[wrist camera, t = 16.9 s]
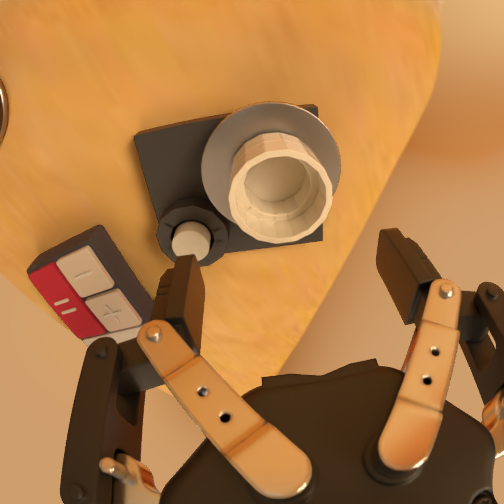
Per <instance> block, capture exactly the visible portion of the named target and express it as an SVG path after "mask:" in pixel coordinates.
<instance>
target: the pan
mask: <svg viewBox="0 0 504 504" xmlns="http://www.w3.org/2000/svg"><path fill="white" fill-rule="evenodd" d="M276 132H279V133H284V134H288V135H291V136H295V137H296V138H298V139H300V140H301V141H302V142H303V143H305V144H306V145H307V146H308V147H309V148H310V149H311V150H312V152H313V153H314V154H315V156H316V157H317V159H318V160H319V161H320V163H321V164H322V166H323V167H324V169H325V171H326V173H327V175H328V177H329V179H330V181H331V183H332V197H333V195H334V193H335V191H336V188H337V185H338V182H339V178H340V173H341V159H340V153H339V149H338V146H337V143H336V141H335V139H334V137H333V135H332V133H331V132H330V130H329V129H328V128H327V126H326V125H325V124H324V123H323V122H322V121H321V120H320V119H319V118H317V117H316V116H315V115H313V114H312V113H311V112H309V111H307V110H305V109H303V108H302V107H299V106H296V105H293V104H290V103H285V102H277V101H267V102H259V103H254V104H251V105H248V106H245V107H242V108H240V109H238V110H236V111H235V112H233V113H232V114H230V115H228V116H227V117H226V118H225V119H224V120H223V121H221V122H220V123H219V125H218V126H217V127H216V128H215V129H214V131H213V132H212V134H211V135H210V137H209V139H208V141H207V143H206V146H205V149H204V152H203V155H202V162H201V175H202V182H203V185H204V188H205V191H206V193H207V195H208V197H209V199H210V201H211V202H212V204H213V205H214V206H215V207H216V209H217V210H218V211H219V212H220V213H221V214H222V215H223V216H225V217H226V218H227V219H229V220H230V221H232V222H234V223H236V221H235V220H234V218H233V217H232V215H231V211H230V205H229V200H228V192H229V181H230V171H231V167H232V163H233V159H234V157H235V155H236V154H237V152H238V151H239V150H240V149H241V147H242V146H243V145H244V144H245V143H246V142H248V141H249V140H251V139H253V138H255V137H257V136H258V135H262V134H268V133H276ZM236 224H237V223H236ZM237 225H238V224H237Z"/></svg>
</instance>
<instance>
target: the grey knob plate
mask: <svg viewBox="0 0 504 504" xmlns="http://www.w3.org/2000/svg"><path fill="white" fill-rule="evenodd" d="M296 106H299V107H302V108H303V109H305V110H307V111H309V112H311V113H312V114H313V115H315V116H316V117H317V118H318V107H317V106H315V105H314V104H309V105H296ZM230 114H232V113H228V114H222V115H216V116H210V117H204V118H199V119H193V120H188V121H183V122H179V123H174V124H169V125H165V126H160V127H156V128H152V129H148V130H144V131H140V132H138V133H137V134H136V135H134V140H135V144H136V148H137V152H138V155H139V159H140V162H141V166H142V169H143V173H144V176H145V180H146V183H147V187H148V190H149V193H150V196H151V200H152V203H153V206H154V209H155V212H156V216H157V219H158V222H159V226H158V230H157V234H156V236H157V239H158V242H159V245H160V248H161V250H162V252H163V253H164V254H166V255H167V256H168V257H169V258H170V259H171V260H172V261H173V262H176V258H177V255H176V254H175V253H174V251H173V249H172V240H173V237H174V234H175V231H176V229H177V227H178V226H179V225H181V224H182V223H184V222H188V221H195V222H199V223H201V224H203V225H204V226H205V227H206V228H207V229H208V230H209V232H210V236H211V240H210V247H209V252H208V254H207V255H206V256H205V257H204V258H203V259H202V260H199V261H198V265H199V267H201V266H208V265H211V264H212V263H214V262H215V261H217V260H218V259H220V258H221V257H223V255H224V253H230V252H238V251H246V250H254V249H261V248H269V247H277V246H285V245H293V244H301V243H309V242H317V241H323V223H322V224H321V225H320V226H319V227H318V228H317V229H316V230H315V231H314V232H313V233H311V234H309V235H307V236H305V237H303V238H301V239H299V240H297V241H294V242H286V243H278V244H275V243H270V242H265V241H260V240H257V239H255V238H254V237H252V236H250V235H249V234H247V233H246V232H244V231H243V230H241V228H240V227H239V225H237V224H236V223H234V222H232V221H230V220H229V219H227V218H226V217H225V216H223V215H222V214H221V213H220V212H219V211H218V210H217V209H216V207H215V206H214V205H213V204H212V202H211V201H210V199H209V197H208V195H207V193H206V191H205V188H204V185H203V182H202V175H201V162H202V155H203V152H204V149H205V146H206V143H207V141H208V139H209V137H210V135H211V134H212V132H213V131H214V129H215V128H216V127H217V126H218V125H219V123H220V122H221V121H223V120H224V119H225V118H226V117H227V116H228V115H230Z"/></svg>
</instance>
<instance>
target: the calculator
mask: <svg viewBox="0 0 504 504" xmlns="http://www.w3.org/2000/svg"><path fill="white" fill-rule="evenodd" d="M27 274H28V275H29V276H28V277H29V279H30V280H31V282H32V283H33V284H34V286H35V287H36V288H37V290H38V291H39V292H40V294H41V295H42V296H43V297H44V299H45V300H46V301H47V302H48V304H49V305H50V306H51V307H52V309H53V310H54V311H55V312H56V313H57V315H58V316H59V317H60V318H61V319H62V320H63V322H64V323H65V324H66V325H67V326H68V327H69V329H70V330H71V331H72V332H73V333H74V334H75V335H76V336H77V337H78V338H79V339H81V340H82V341H83V342H84V343H85V344H86V345H87V347H89V346H90V344H91V343H92V342H93V341H95V340H96V339H98V338H101V337H111V338H113V339H114V340H115V341H116V342H117V344H118V343H121V342H124V341H127V340H130V339H133V338H135V337H137V334H138V331H139V330H140V328H141V327H142V326H143V325H145V324H146V323H148V322H150V317H151V313H152V309H153V305H154V301H152V299H151V298H150V296H149V295H148V294H147V292H146V291H145V289H144V288H143V286H142V285H141V284H140V282H139V281H138V279H137V278H136V276H135V275H134V273H133V272H132V270H131V269H130V267H129V266H128V264H127V263H126V261H125V260H124V258H123V257H122V255H121V254H120V252H119V250H118V249H117V247H116V246H115V244H114V243H113V241H112V239H111V238H110V236H109V235H108V233H107V231H106V230H105V228H104V227H103V226H102V225H97V226H95V227H93V228H91V229H89V230H87V231H85V232H83V233H81V234H79V235H77V236H75V237H73V238H71V239H69V240H67V241H65V242H63V243H61V244H59V245H57V246H55V247H53V248H51V249H50V250H48V251H46V252H44V253H42V254H40V255H39V256H38V257H37V258H36V259H35V260H34V261H33V263H32V264H31V265H30V266H29V268H28V269H27Z"/></svg>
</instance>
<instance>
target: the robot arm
mask: <svg viewBox="0 0 504 504" xmlns="http://www.w3.org/2000/svg"><path fill="white" fill-rule="evenodd" d="M7 123H8V98H7V93H6V90H5V87H4V84H3V82H2V81H1V79H0V143H1V141H2V139H3V137H4V134H5V131H6V128H7ZM378 240H379V241H378V247H377V255H376V265H377V270H378V272H379V274H380V276H381V278H382V279H383V281H384V283H385V285H386V287H387V289H388V291H389V293H390V295H391V297H392V299H393V301H394V303H395V305H396V307H397V309H398V311H399V313H400V315H401V318H402V320H403V322H404V324H405V325H408V324H412V323H415V325H416V328H415V331H414V334H413V337H412V340H411V343H410V346H409V349H408V352H407V355H406V358H405V361H404V364H403V366H402V369H401V371H400V370H397V369H394V368H391V367H385V366H378V363H377V360H376V359H370V360H366V361H361V362H356V363H351V364H348V365H346V366H344V367H341V368H339V369H337V370H334V371H332V372H330V373H327V374H325V375H321V376H316V375H301V374H285V375H277V376H269V377H262V386H259V387H256V388H254V389H252V390H250V391H248V392H247V393H245V394H244V395H242V396H241V397H240V396H239V395H238V394H237V393H236V392H235V391H234V390H233V389H232V388H231V387H230V386H229V384H228V383H227V382H226V381H225V380H224V379H223V378H222V377H221V376H220V375H219V374H218V373H217V372H216V371H215V370H214V369H213V368H212V367H211V365H210V364H209V363H208V362H207V361H206V360H205V359H204V358H203V357H202V356H201V355H200V348H201V335H202V323H203V312H204V301H205V286H204V281H203V278H202V275H201V271H200V268H199V265H198V261H197V258H196V255H195V254H190V255H182V256H177V258H176V262H175V267H174V268H173V269H167V270H166V272H165V273H164V274H163V275H162V277H161V278H160V282H159V286H158V290H157V293H156V294H157V296H156V297H155V301H154V305H153V309H152V313H151V317H150V322H148V323H146V324H145V325H143V326H142V327H141V328H140V330H139V331H138V334H137V337H135V338H133V339H130V340H127V341H124V342H121V343H118V344H117V342H116V341H115V340H114V339H113V338H111V337H101V338H98V339H96V340H95V341H93V342H92V343H91V344H90V346H89V347H88V349H87V352H86V355H85V359H84V362H83V366H82V370H81V374H80V378H79V382H78V386H77V391H76V395H75V399H74V404H73V408H72V413H71V418H70V424H69V429H68V435H67V440H66V446H65V454H64V460H63V468H62V475H61V484H60V496H61V499H62V501H63V503H64V504H498V503H497V502H496V500H495V498H494V495H493V488H492V479H493V468H494V462H495V460H496V459H498V458H500V457H502V456H504V292H503V290H502V289H501V288H500V287H499V286H497V285H496V284H494V283H491V282H483V283H481V284H480V285H479V287H478V289H477V291H476V292H471V291H461V290H460V288H459V286H458V285H457V284H455V283H454V282H452V281H451V280H448V279H442V277H441V276H440V274H439V273H438V272H437V270H436V269H435V267H434V266H433V264H432V263H431V262H430V260H429V259H427V256H426V255H425V254H424V253H423V251H422V249H421V248H420V247H419V245H418V244H417V243H416V242H414V241H413V240H411V239H410V238H405V237H404V236H403V235H402V233H401V232H400V231H399V230H398V228H391V229H383V230H381V231H380V233H379V239H378ZM488 331H490V333H491V335H492V336H493V338H494V340H495V342H496V349H495V347H494V345H493V343H492V341H491V339H490V337H489V335H488ZM458 342H459V344H460V346H461V348H462V350H463V353H464V355H465V357H466V360H467V362H468V364H469V367H470V369H471V372H472V374H473V377H474V379H475V382H476V384H477V387H478V389H479V392H480V395H481V397H482V400H483V403H484V406H485V407H484V409H483V412H482V422H481V423H480V422H479V421H477V420H476V419H474V418H473V417H471V416H470V415H468V414H466V413H465V412H463V411H462V410H460V409H459V408H457V407H455V406H454V405H453V404H451V403H450V402H448V401H447V400H445V399H446V396H447V391H448V388H449V384H450V380H451V376H452V372H453V367H454V363H455V357H456V353H457V347H458ZM163 384H166V386H167V387H168V389H169V390H170V391H171V393H172V394H173V395H174V397H175V398H176V399H177V401H178V402H179V403H180V405H181V406H182V407H183V409H184V410H185V411H186V412H187V414H188V415H189V416H190V417H191V419H192V420H193V421H194V422H195V424H196V425H197V426H198V428H199V429H200V430H201V431H202V432H203V434H204V435H205V436H206V439H205V440H204V441H203V442H202V443H201V444H200V446H199V447H198V448H197V449H196V450H195V452H194V453H193V454H192V455H191V456H190V458H189V459H188V460H187V461H186V463H184V465H183V466H182V467H181V468H180V469H179V470H178V471H177V473H176V474H175V475H174V476H173V477H172V478H171V479H170V480H169V482H168V483H167V484H166V485H165V487H164V488H163V491H162V493H160V492H159V491H158V490H157V489H156V487H155V485H154V480H153V476H152V473H151V471H150V470H149V468H148V467H147V466H145V465H144V464H142V463H140V460H141V441H142V425H143V414H144V402H145V392H146V390H148V389H151V388H154V387H157V386H160V385H163Z"/></svg>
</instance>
